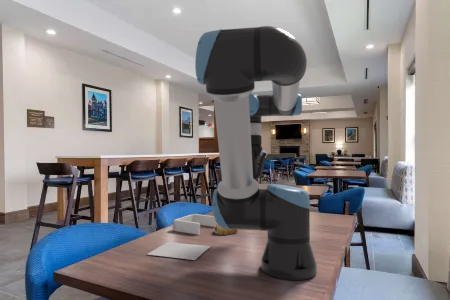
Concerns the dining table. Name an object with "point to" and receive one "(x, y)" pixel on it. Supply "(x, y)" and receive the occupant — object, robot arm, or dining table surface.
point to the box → (193, 223)
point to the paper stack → (180, 250)
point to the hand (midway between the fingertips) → (251, 195)
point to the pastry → (224, 230)
